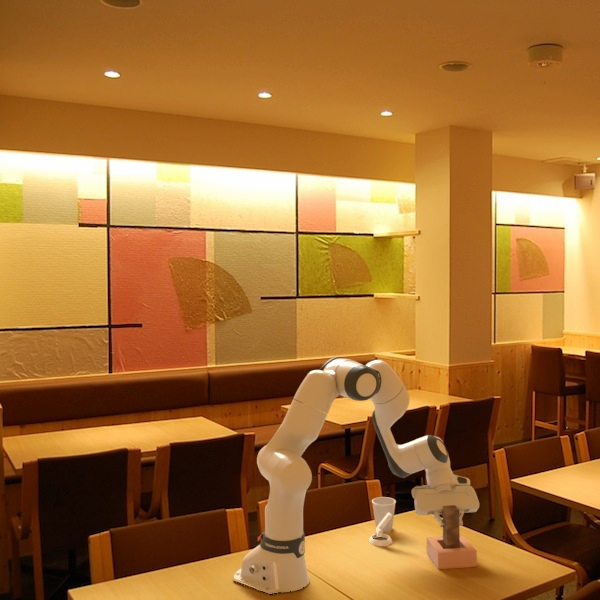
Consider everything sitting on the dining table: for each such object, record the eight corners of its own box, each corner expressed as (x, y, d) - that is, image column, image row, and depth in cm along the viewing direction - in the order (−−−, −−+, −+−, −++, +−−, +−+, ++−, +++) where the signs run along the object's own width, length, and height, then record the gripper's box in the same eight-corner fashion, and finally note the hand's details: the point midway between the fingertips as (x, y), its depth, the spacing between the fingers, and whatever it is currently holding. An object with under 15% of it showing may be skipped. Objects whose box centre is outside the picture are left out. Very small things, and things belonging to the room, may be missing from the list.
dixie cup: (372, 524, 249) (371, 496, 248) (395, 524, 248) (395, 496, 248) (372, 533, 241) (371, 504, 240) (396, 533, 240) (396, 504, 239)
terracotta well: (438, 569, 211) (437, 552, 211) (426, 553, 223) (426, 537, 223) (476, 566, 213) (476, 550, 212) (463, 550, 225) (463, 535, 224)
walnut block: (447, 548, 216) (446, 510, 215) (443, 543, 220) (442, 506, 219) (459, 548, 216) (459, 509, 215) (455, 542, 220) (455, 505, 219)
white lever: (408, 530, 229) (391, 520, 227) (386, 558, 231) (369, 548, 229) (402, 517, 236) (386, 508, 234) (381, 544, 238) (365, 535, 236)
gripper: (412, 481, 223) (420, 523, 213) (474, 478, 225) (485, 519, 216) (408, 491, 227) (417, 532, 218) (469, 487, 229) (480, 528, 220)
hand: (451, 525), depth 217 cm, fingers closed on walnut block, 4 cm apart
